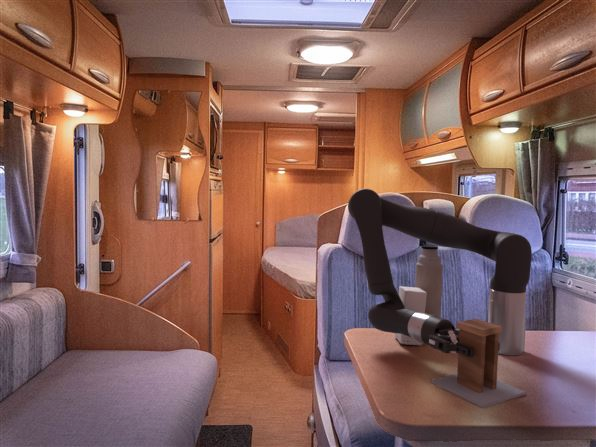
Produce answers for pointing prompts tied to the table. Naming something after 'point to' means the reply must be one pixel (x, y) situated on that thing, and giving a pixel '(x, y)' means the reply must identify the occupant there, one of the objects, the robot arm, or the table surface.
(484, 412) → the table surface
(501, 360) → the table surface
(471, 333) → the stool
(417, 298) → the skincare box
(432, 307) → the thermos bottle
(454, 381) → the mat
